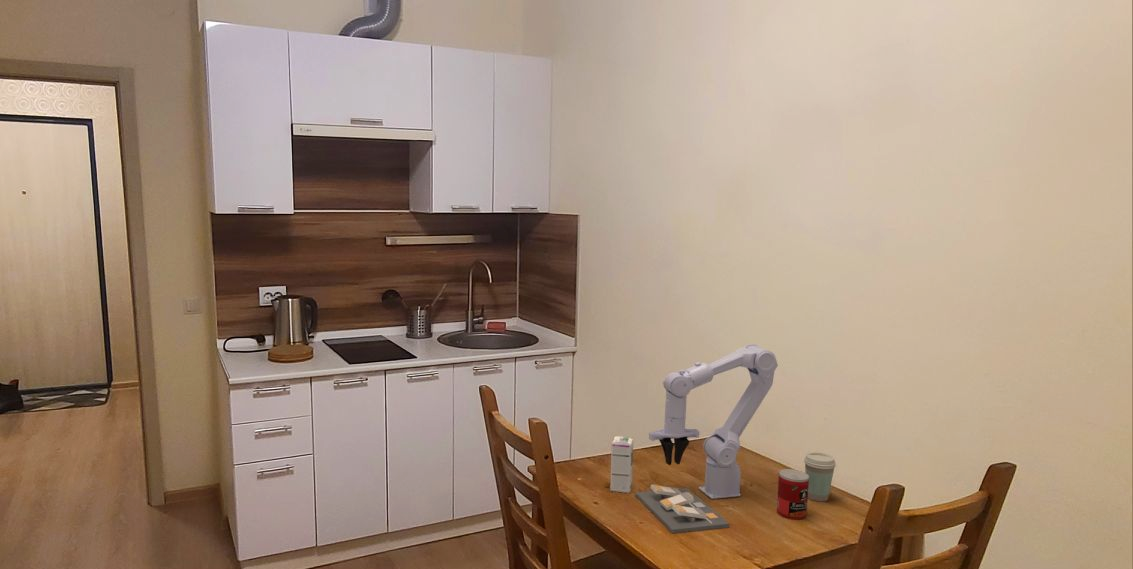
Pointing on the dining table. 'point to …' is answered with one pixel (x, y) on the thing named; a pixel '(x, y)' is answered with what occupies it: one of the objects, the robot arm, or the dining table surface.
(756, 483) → the dining table surface
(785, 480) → the canned food
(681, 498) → the rocker
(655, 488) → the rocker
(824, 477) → the coffee cup
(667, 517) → the switch unit
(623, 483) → the syrup box
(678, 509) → the rocker
